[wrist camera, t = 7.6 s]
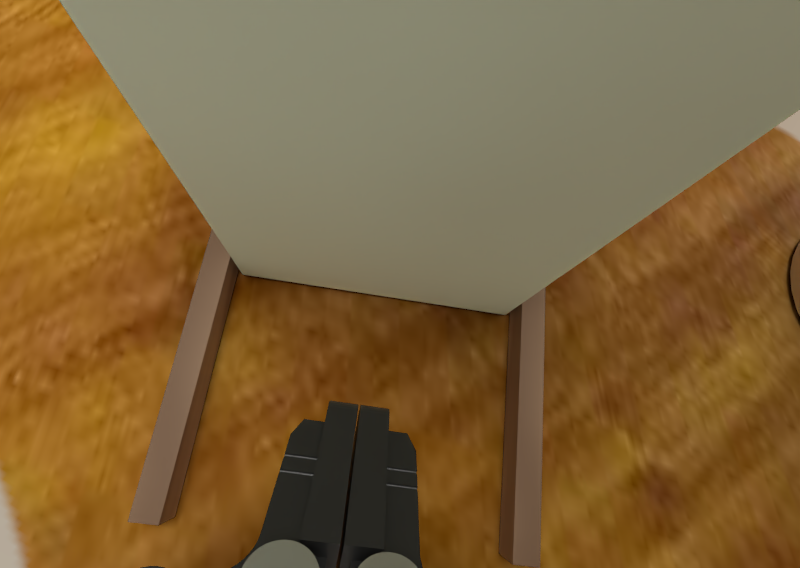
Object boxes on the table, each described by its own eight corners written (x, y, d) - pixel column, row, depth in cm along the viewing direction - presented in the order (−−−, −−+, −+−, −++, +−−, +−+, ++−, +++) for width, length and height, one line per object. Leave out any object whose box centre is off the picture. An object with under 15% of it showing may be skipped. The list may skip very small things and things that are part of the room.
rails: (536, 113, 24) (553, 86, 22) (523, 555, 17) (546, 571, 15) (271, 62, 23) (264, 29, 21) (146, 513, 16) (120, 525, 14)
